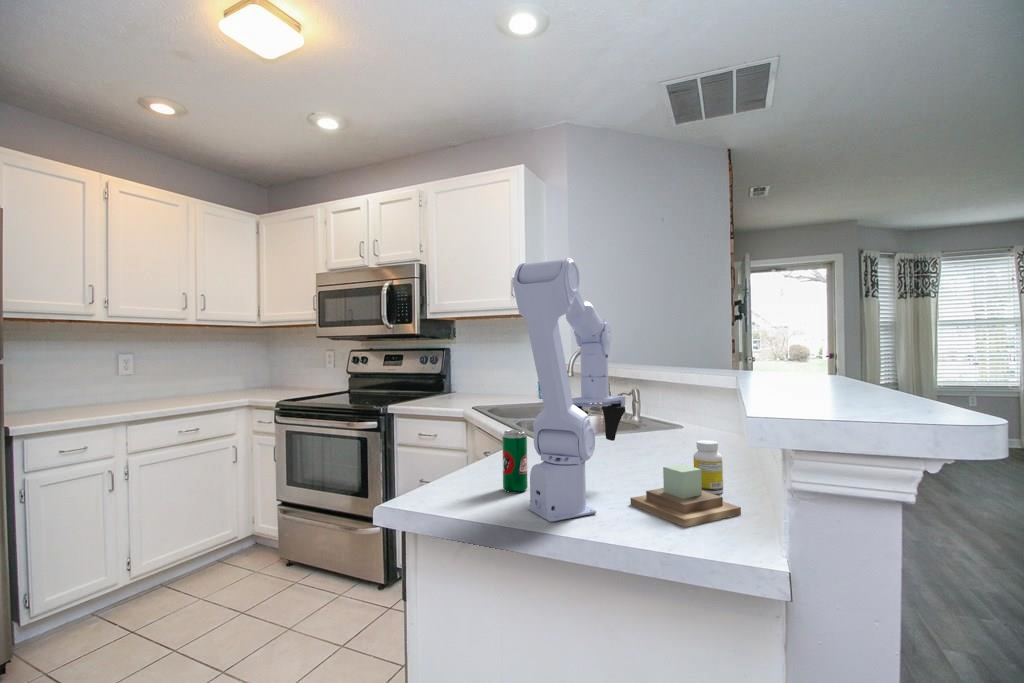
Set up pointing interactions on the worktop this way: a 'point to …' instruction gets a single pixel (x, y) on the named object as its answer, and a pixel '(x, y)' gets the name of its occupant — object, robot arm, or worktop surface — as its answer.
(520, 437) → the soda can
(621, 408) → the robot arm
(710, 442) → the supplement bottle
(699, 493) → the sage block
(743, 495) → the worktop surface
